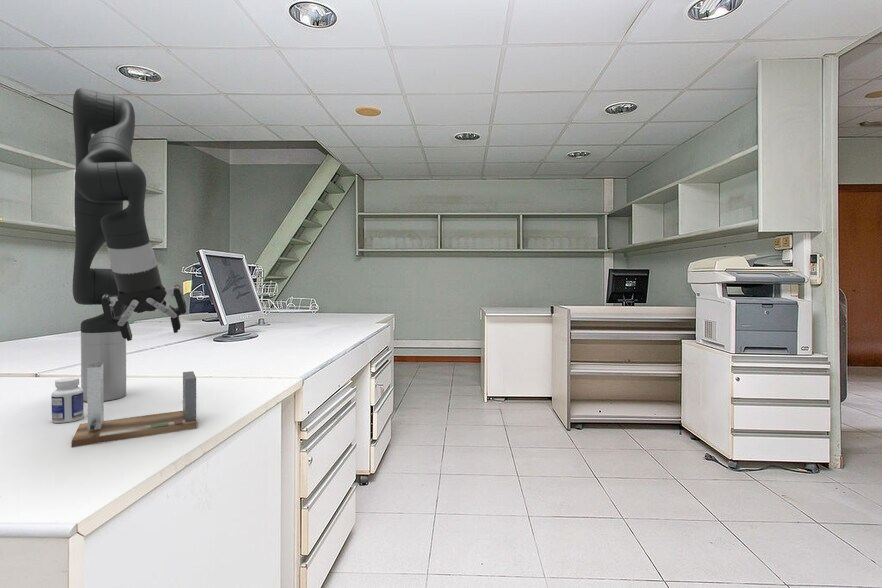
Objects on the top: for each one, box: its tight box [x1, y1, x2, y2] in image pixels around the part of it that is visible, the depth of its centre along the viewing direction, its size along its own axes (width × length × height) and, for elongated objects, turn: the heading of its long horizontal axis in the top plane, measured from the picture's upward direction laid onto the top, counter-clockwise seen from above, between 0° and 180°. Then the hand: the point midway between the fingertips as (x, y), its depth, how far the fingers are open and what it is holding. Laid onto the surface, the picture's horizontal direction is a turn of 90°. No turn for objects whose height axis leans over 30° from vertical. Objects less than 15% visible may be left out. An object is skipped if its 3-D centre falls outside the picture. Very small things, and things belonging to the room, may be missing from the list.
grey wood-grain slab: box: [182, 371, 197, 422], centre depth 95 cm, size 8×2×9 cm, turn 34°
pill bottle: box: [50, 376, 85, 424], centre depth 95 cm, size 5×5×9 cm
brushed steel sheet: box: [86, 362, 105, 431], centre depth 85 cm, size 9×2×12 cm, turn 34°
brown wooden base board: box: [71, 410, 198, 448], centre depth 90 cm, size 11×20×2 cm, turn 124°
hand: (153, 335), depth 95 cm, fingers open, 8 cm apart
